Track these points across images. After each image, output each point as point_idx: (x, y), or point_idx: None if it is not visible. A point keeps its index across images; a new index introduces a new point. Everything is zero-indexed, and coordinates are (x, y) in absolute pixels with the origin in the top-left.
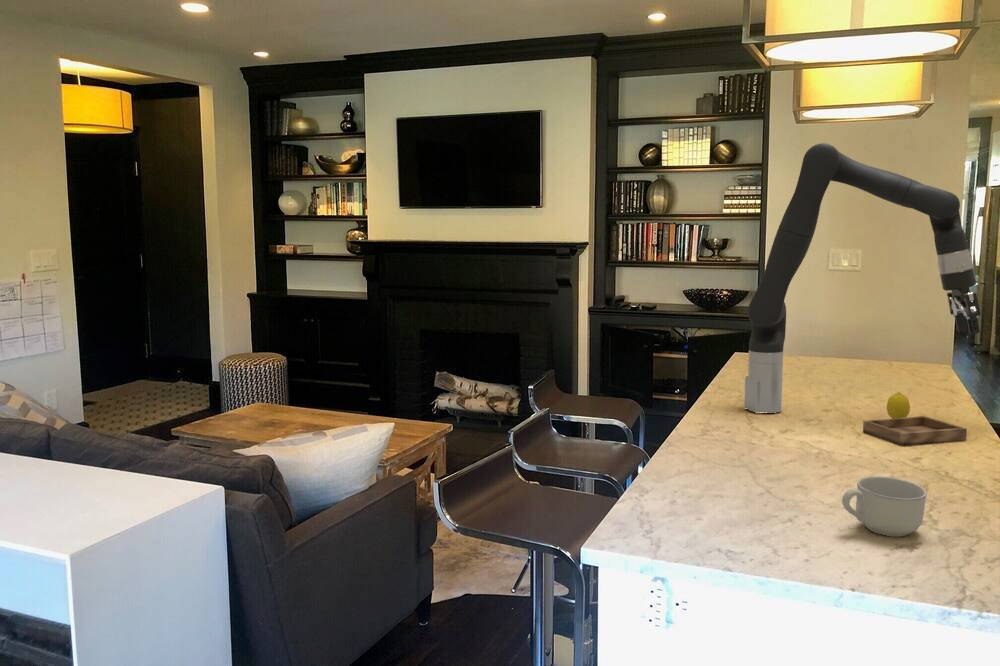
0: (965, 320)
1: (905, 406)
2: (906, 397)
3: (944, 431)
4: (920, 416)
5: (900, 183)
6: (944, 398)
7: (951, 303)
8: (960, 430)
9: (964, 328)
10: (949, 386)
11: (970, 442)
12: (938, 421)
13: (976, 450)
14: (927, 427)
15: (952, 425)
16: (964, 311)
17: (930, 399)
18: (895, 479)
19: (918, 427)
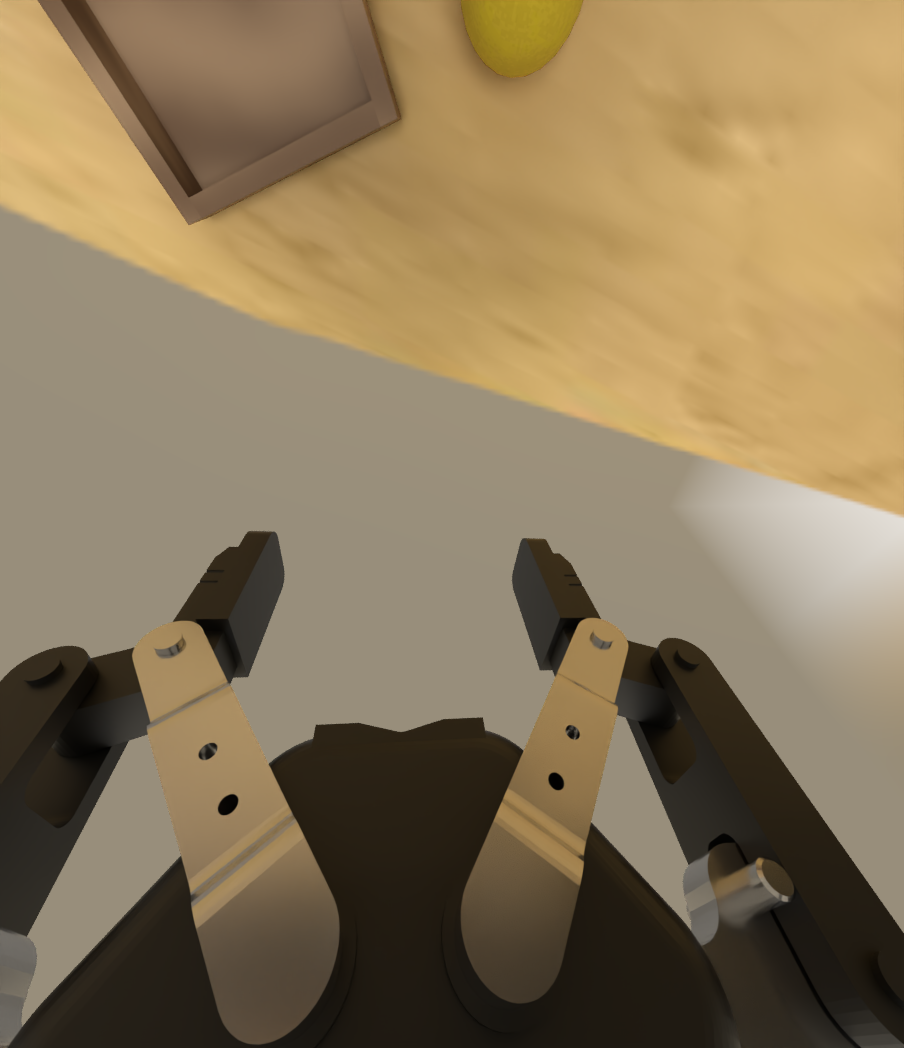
0: (530, 636)
1: (464, 5)
2: (505, 26)
3: (88, 71)
4: (386, 87)
5: None
6: (789, 429)
7: (724, 782)
8: (166, 186)
9: (519, 577)
10: (890, 498)
11: None
12: (291, 145)
13: (59, 182)
14: (341, 108)
15: (225, 182)
16: (177, 708)
17: (805, 385)
18: None
19: (332, 45)
